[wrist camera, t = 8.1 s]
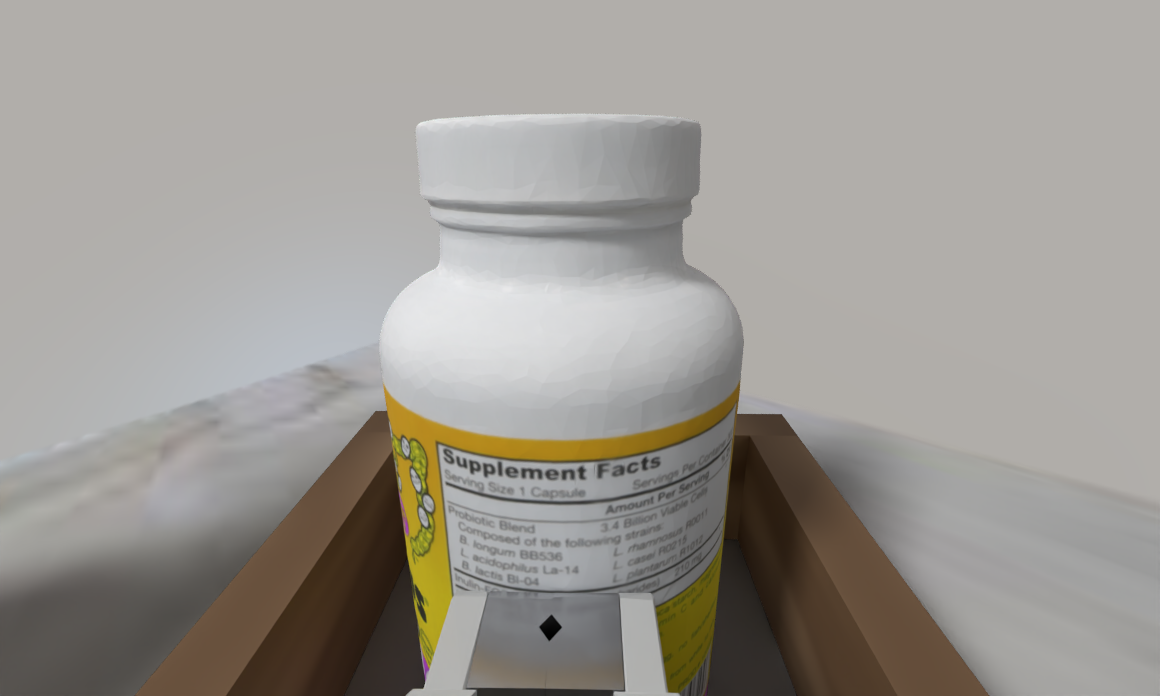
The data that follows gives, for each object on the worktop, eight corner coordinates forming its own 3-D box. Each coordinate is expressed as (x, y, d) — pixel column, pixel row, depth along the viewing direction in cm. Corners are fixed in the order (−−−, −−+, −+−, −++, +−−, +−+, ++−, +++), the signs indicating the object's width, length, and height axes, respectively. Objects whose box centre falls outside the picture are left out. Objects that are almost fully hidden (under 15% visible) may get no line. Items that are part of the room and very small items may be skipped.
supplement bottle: (482, 572, 17) (448, 133, 13) (697, 596, 16) (739, 131, 12) (374, 815, 11) (235, 108, 6) (717, 877, 10) (822, 99, 5)
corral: (767, 512, 20) (781, 414, 18) (1030, 1039, 8) (1120, 873, 7) (389, 508, 20) (375, 411, 19) (100, 1011, 8) (5, 847, 7)
